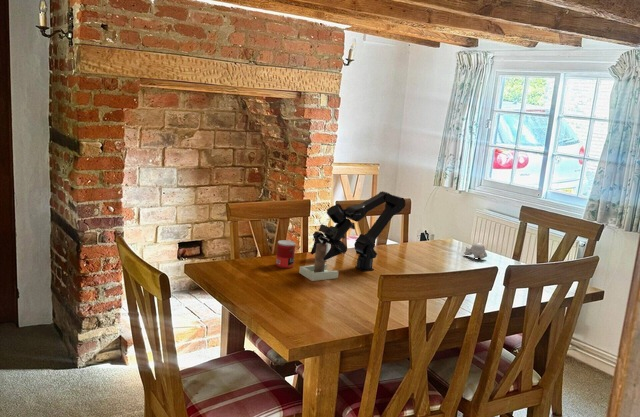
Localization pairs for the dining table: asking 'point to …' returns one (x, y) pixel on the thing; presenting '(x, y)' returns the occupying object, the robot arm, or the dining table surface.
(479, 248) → the chubby cartoon animal
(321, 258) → the brown round cylinder
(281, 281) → the dining table surface
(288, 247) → the canned food
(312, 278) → the tray
